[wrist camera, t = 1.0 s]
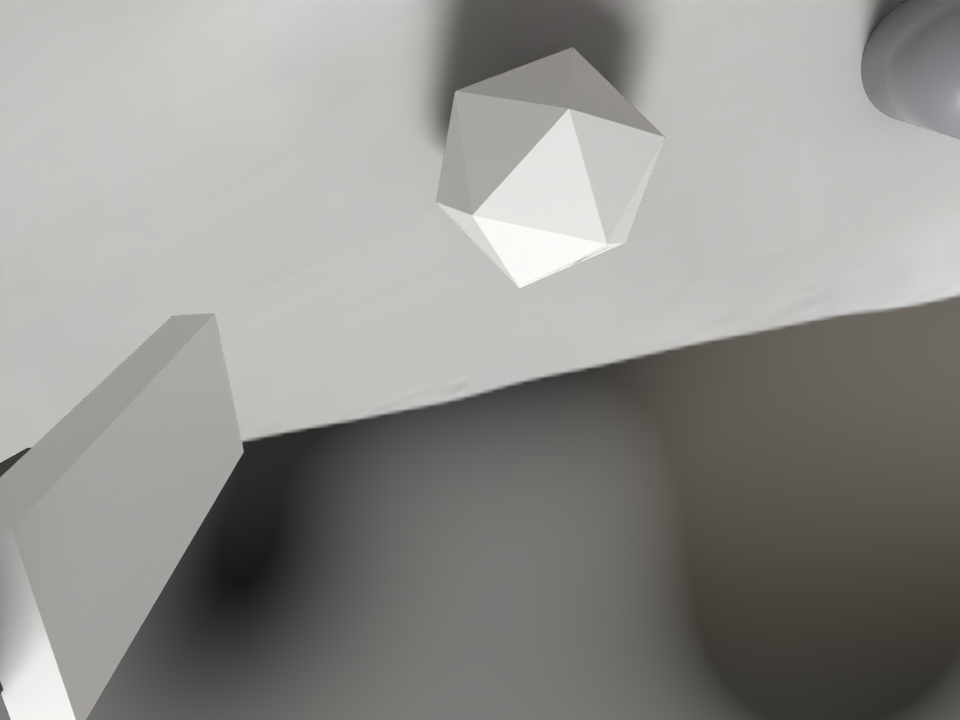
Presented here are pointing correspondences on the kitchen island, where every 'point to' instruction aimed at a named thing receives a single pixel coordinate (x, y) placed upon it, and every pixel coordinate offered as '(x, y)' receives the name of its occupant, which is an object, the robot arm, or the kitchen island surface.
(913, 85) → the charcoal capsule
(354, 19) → the kitchen island surface
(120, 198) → the kitchen island surface
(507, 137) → the die
